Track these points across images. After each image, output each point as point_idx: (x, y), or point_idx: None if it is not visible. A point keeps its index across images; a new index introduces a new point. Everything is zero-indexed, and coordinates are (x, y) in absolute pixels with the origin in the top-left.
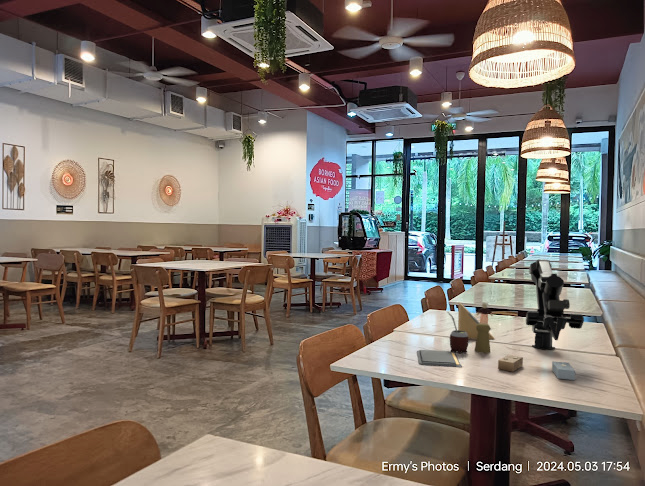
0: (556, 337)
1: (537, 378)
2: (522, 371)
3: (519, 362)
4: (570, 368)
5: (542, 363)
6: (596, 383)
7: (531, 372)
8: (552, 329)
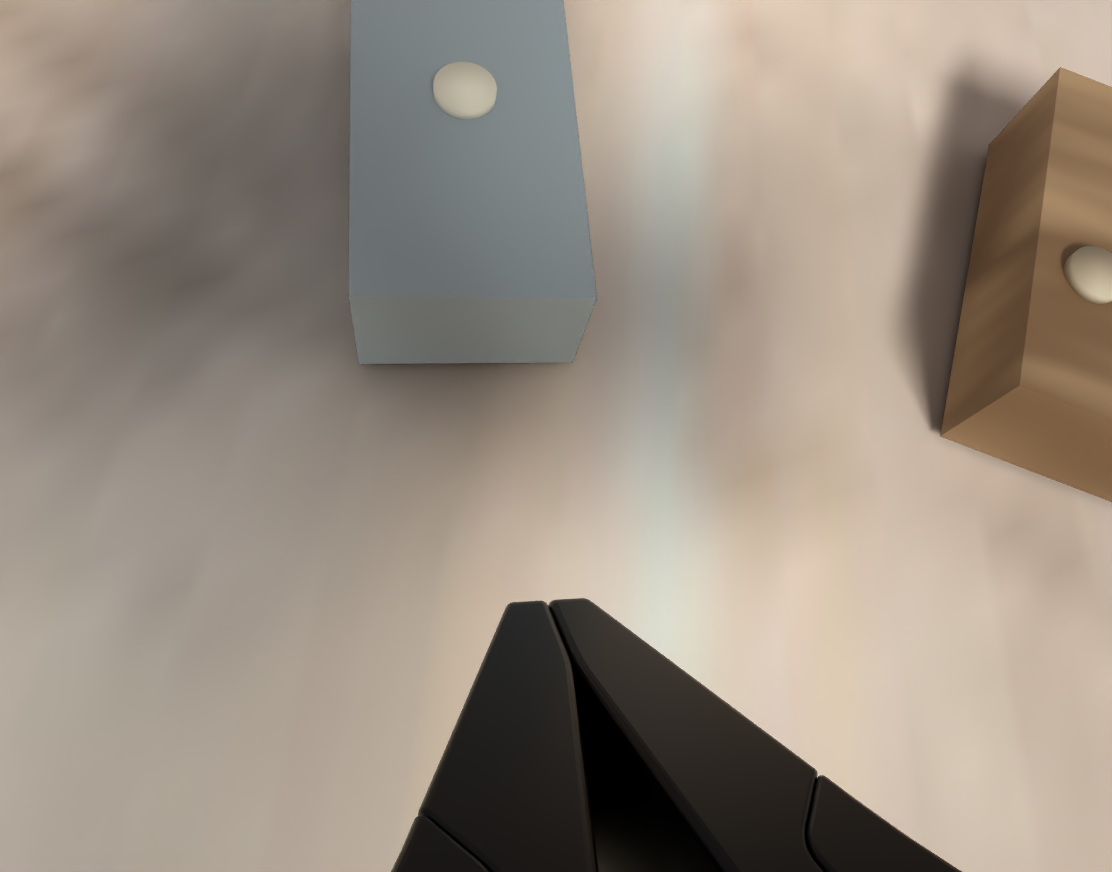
0: (562, 617)
1: (738, 28)
2: (901, 219)
3: (1002, 285)
4: (390, 6)
5: None
6: (129, 11)
7: (807, 210)
8: (810, 797)
